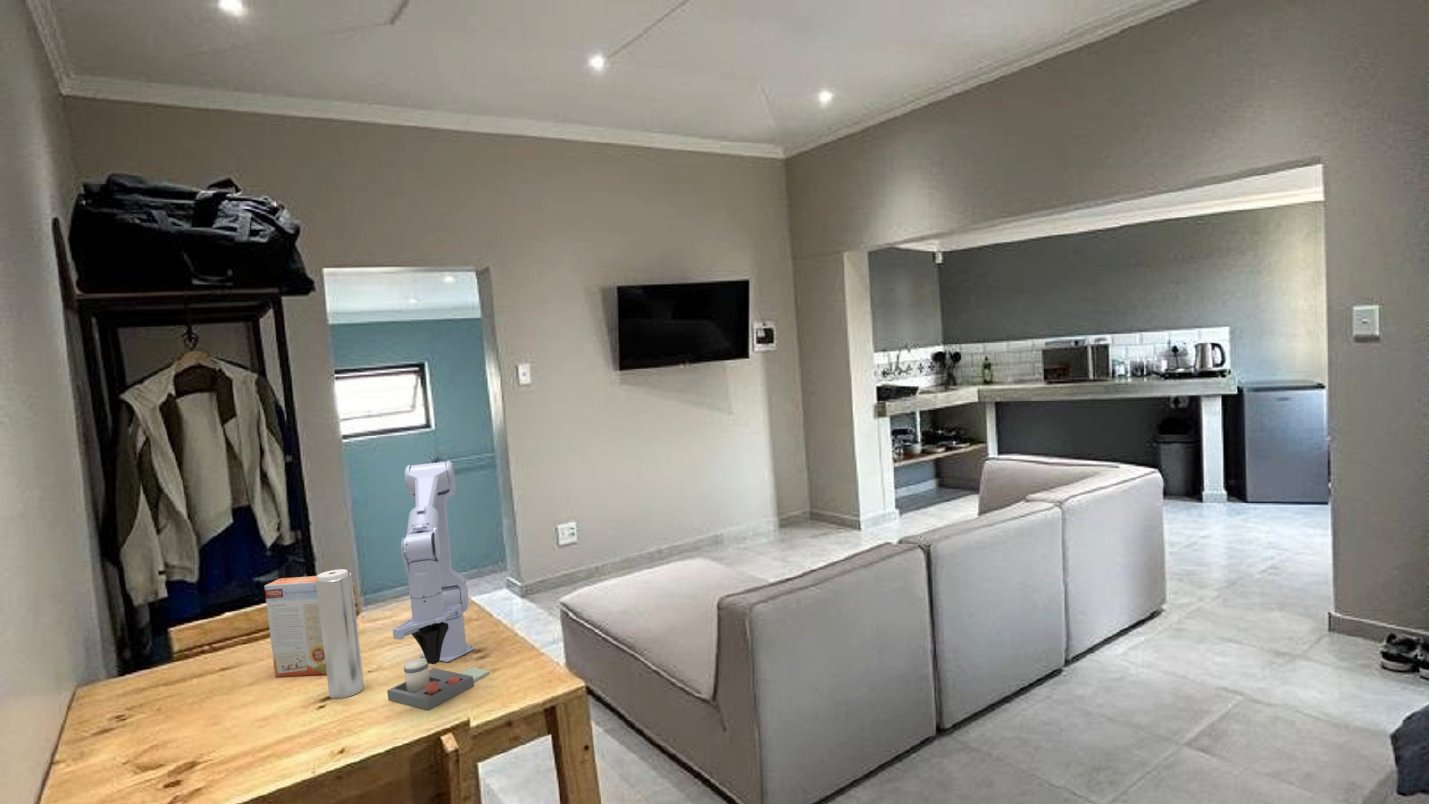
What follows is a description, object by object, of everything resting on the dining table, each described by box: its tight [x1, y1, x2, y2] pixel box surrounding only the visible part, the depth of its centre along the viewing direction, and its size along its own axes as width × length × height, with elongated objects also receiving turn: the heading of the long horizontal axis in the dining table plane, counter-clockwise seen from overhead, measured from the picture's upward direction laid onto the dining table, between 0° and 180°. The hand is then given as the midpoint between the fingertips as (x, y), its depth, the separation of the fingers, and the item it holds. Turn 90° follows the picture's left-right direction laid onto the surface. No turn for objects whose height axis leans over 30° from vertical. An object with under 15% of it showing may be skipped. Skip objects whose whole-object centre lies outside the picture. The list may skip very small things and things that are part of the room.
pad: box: [458, 667, 490, 683], centre depth 155 cm, size 6×5×1 cm
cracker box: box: [263, 575, 327, 678], centre depth 165 cm, size 14×6×21 cm, turn 84°
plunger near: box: [426, 681, 439, 696], centre depth 144 cm, size 2×2×2 cm
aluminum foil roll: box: [316, 568, 365, 700], centre depth 152 cm, size 6×6×25 cm
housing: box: [386, 667, 475, 711], centre depth 148 cm, size 12×11×2 cm
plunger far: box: [448, 676, 460, 685], centre depth 148 cm, size 2×2×2 cm
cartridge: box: [403, 657, 430, 693], centre depth 148 cm, size 5×5×6 cm
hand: (433, 662), depth 144 cm, fingers closed
